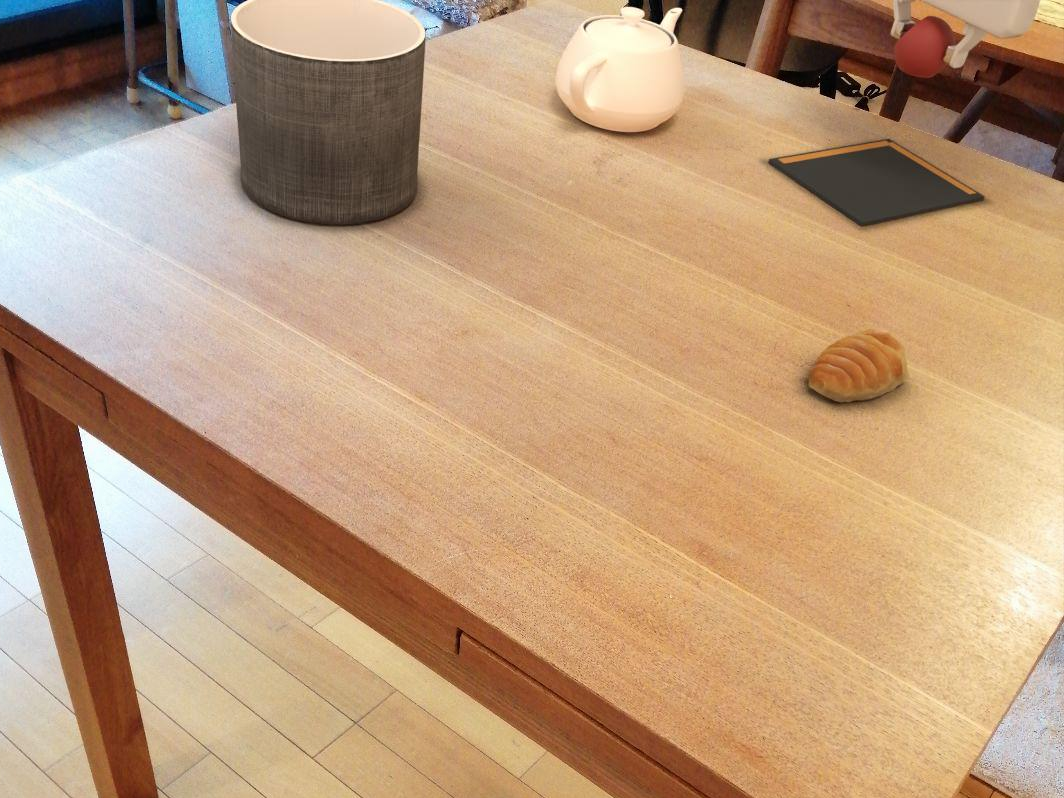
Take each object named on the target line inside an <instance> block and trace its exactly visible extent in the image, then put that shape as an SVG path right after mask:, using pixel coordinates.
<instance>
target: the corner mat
mask: <svg viewBox="0 0 1064 798" xmlns="http://www.w3.org/2000/svg"><path fill="white" fill-rule="evenodd" d="M768 164H769V165H771V166H772V167H774V168H775V169H777V170H778V171H779V172H781V173H782V174H784V175H785V176H787V177H789V178H790V179H791V180H793V181H794V182H795V183H797V184H798V185H800V186H801V187H803V188H804V189H806V190H807V191H809V192H810V193H812V194H813V195H815V196H816V197H817V198H819V199H821V200H822V201H824V202H825V203H826V204H828V205H829V206H831V207H832V208H833V209H835V210H836V211H838V212H839V213H841V214H843V215H844V216H845V217H847V218H848V219H850V220H851V221H853V222H855V223H856V224H857V225H859V226H860V227H866V226H870V225H875V224H880V223H884V222H889V221H893V220H894V221H895V220H898V219H902V218H907V217H913V216H917V215H921V214H926V213H931V212H935V211H941V210H944V209H949V208H954V207H958V206H964V205H968V204H972V203H977V202H981V201H984V199H985V198H986V196H985V195H983V194H982V193H980V192H979V191H976V190H975V189H974V188H972V187H970V186H968V185H967V184H965V183H963V182H962V181H960V180H958V179H956V178H955V177H953V176H952V175H950V174H949V173H947V172H945V171H944V170H942V169H940V168H939V167H937V166H935V165H934V164H932V163H931V162H929V161H927V160H926V159H924V158H922V157H921V156H919V155H917V154H916V153H914V152H912V151H910V150H908V148H905V147H904V146H902V145H901V144H899V143H897V142H895V141H894V140H892V139H891V138H885V139H884V138H883V139H879V140H874V141H868V142H861V143H856V144H850V145H843V146H838V147H831V148H826V149H820V150H814V151H808V152H801V153H796V154H791V155H785V156H779V157H771V158H768Z"/></svg>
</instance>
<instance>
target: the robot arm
mask: <svg viewBox="0 0 1064 798" xmlns="http://www.w3.org/2000/svg"><path fill="white" fill-rule="evenodd" d="M891 1H892V9H893V19H894V21H893V24H892V27H891V30H890V36H891V37H893V38H895V39H897V40H899V39H900V38H901V37H902V36H903V35H904V34H905V33H906V32H907V31H908V30H909V29H911V28H912V27H913V26H914V25H915V24H917V22H915V21H913V20H912V12H911V11H912V3H913V2H916V0H891ZM919 1H920V2H922V3H924V4H926V5H929V6H931V7H933V8H935V9H937V10H939V11H941V12H943V13H946V14H948V16H949V15H950V16H951V17H954V18H956V19H958V20H960V21H962V22H964V26H963V28H962V31H961V33H962V34H963V35H965V36H964V37H962V39H961V40H960V41H959V42H958V43H957V44H955V46H948V47H947V50H946V56H944V58H943V63H945V64H947V65H946V66H949V67H951V68H953V69H958V68H962V67H963V66H964V65H965V62H966V60H967V57H968V55H969V52H970V51H971V50H972V49H974V48H975V47H976V46H977V45H978V44H979V43H980V42H981V41H982V40H983V39H984V38H985V37H986V36H987V34H989V35H991V36H993V37H995V38H997V39H1000V40H1009V39H1017V38H1020V37H1021V36H1023V35H1024V34H1026V33H1027V32H1028V31H1030V30H1031V28H1032V26H1033V23H1034V20H1035V18H1036V15H1037V13H1038V9H1039V6H1040V3H1041V0H919Z"/></svg>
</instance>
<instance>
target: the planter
mask: <svg viewBox="0 0 1064 798" xmlns="http://www.w3.org/2000/svg"><path fill="white" fill-rule="evenodd" d="M229 20H230V34H231V48H232V49H231V51H232V63H233V77H234V91H235V104H236V106H235V107H236V118H237V119H236V120H237V134H238V147H239V149H238V150H239V160H240V167H239V168H240V169H239V170H240V171H239V172H240V183H241V187H242V189H243V190H244V192H245V193H246V195H247V196H248V197H249V198H250V199H251V200H252V201H253V202H255V203H256V204H258V205H259V206H261V207H262V208H265V209H266V210H268V211H270V212H272V213H275V214H277V215H280V216H283V217H286V218H288V219H293V220H296V221H302V222H307V223H312V224H313V223H314V224H322V225H355V224H357V225H358V224H365V223H371V222H375V221H379V220H382V219H386V218H389V217H391V216H394V215H395V214H397V213H400V212H401V211H403V210H404V209H406V208H407V207H408V206H409V205H411V203H412V202H413V201H414V199H415V198H416V196H417V194H418V193H417V192H418V166H419V155H420V154H419V152H420V137H421V136H420V135H421V124H422V123H421V122H422V105H423V104H422V103H423V90H424V89H423V87H424V73H425V72H424V71H425V56H426V41H427V31H426V28H425V26H424V24H423V23H422V22H421V21H420V20H419V19H418V18H417V17H416V16H414V15H413V14H411V13H410V12H408V11H406V10H404V9H402V8H401V7H398V6H396V5H393V4H392V3H388V2H385V1H382V0H246V1H243V2H242V3H240V4H238V5H237V6H236V7H235V8H234V9H233V10H232V12H231V14H230V19H229Z"/></svg>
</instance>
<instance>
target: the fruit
mask: <svg viewBox="0 0 1064 798" xmlns="http://www.w3.org/2000/svg"><path fill="white" fill-rule="evenodd" d="M955 39H956V38H955V35H954V31H953V29H952V27H951V26H950V24H948V22H947V21H945V20H944V19H943V18H941V17H939V16H934V15H926V16H925V17H923V18H922V19H920V20H919V21H918V22H916V24H915V25H914V26H913V27H912V28H911V29H909V30H908V31H907V32H906V33H905V34H904V35H903V36H902V37H901V38H900V39H897V41H896V42H895V43H894V45H893V46H894V47H893V58H894V61H895V63H896V66H897V67H898V69H899V70H900V71H902V72H903V73H904V74H907V75H910V76H913V77H916V78H917V77H918V78H924V79H927V78H933V77H934V76H936V75H937V74H940V72H941V71H943V70H944V69H945V68H946V66H948V65H947V64H945V63H943V58H944V56H946V50H947V47H948V46H955V45H956V40H955Z"/></svg>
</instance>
